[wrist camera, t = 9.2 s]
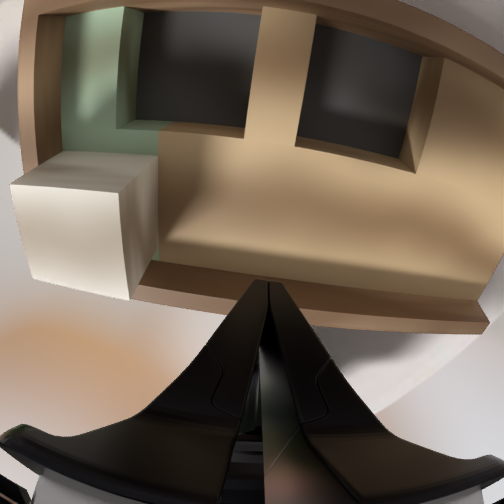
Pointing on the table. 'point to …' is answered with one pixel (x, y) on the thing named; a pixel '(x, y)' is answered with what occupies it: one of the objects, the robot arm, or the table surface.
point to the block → (89, 220)
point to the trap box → (287, 148)
